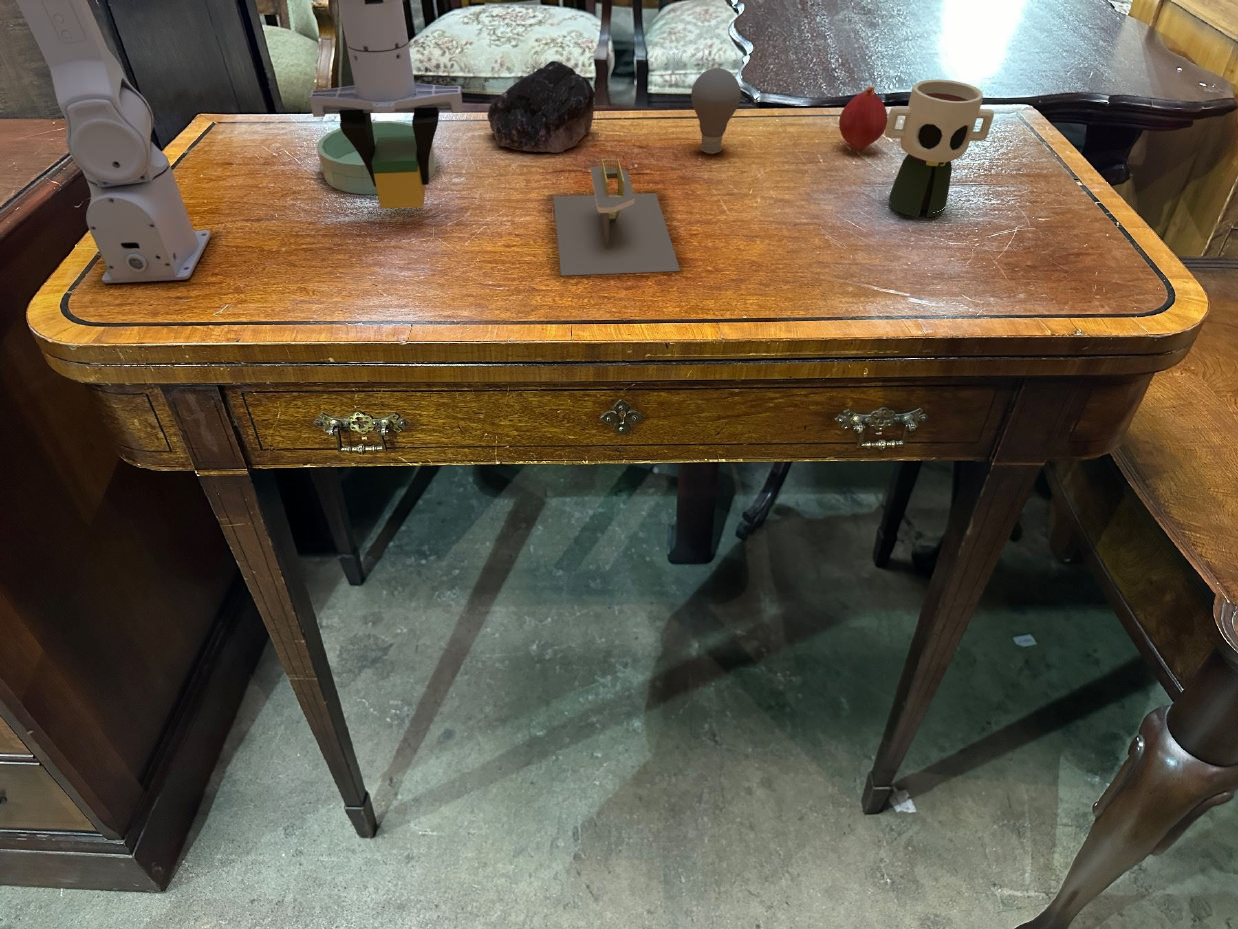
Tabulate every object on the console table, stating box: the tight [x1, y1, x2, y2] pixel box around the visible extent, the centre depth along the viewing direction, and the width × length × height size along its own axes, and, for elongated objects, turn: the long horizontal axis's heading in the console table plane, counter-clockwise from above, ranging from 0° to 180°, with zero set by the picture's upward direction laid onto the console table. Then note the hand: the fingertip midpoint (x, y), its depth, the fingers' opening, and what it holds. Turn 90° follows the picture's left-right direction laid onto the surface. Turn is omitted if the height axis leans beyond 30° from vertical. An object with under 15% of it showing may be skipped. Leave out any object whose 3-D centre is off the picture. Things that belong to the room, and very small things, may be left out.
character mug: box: [884, 79, 995, 218], centre depth 89 cm, size 11×7×13 cm, turn 87°
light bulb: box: [690, 67, 742, 155], centre depth 101 cm, size 6×6×10 cm
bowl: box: [316, 120, 437, 195], centre depth 97 cm, size 13×13×4 cm
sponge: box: [371, 136, 427, 210], centre depth 86 cm, size 6×4×5 cm
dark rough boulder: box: [486, 60, 595, 153], centre depth 104 cm, size 13×14×10 cm
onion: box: [838, 85, 888, 152], centre depth 103 cm, size 6×6×8 cm
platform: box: [552, 158, 681, 276], centre depth 86 cm, size 12×18×7 cm, turn 6°
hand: (401, 181), depth 87 cm, fingers closed on sponge, 4 cm apart
